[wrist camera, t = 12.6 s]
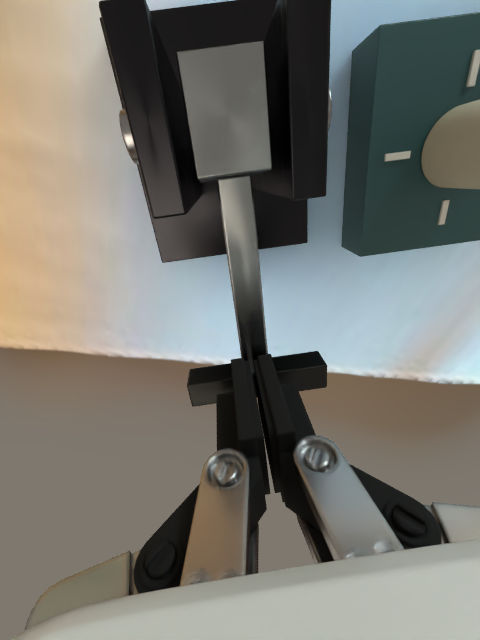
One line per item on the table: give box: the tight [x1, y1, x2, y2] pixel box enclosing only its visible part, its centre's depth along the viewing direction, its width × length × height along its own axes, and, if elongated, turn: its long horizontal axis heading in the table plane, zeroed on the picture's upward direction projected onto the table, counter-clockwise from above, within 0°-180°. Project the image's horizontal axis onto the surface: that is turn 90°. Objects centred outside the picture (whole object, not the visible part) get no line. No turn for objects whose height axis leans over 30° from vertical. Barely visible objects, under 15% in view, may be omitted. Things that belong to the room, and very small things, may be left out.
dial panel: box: [342, 12, 480, 257], centre depth 17 cm, size 10×11×3 cm
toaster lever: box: [176, 41, 327, 406], centre depth 10 cm, size 12×6×2 cm, turn 7°
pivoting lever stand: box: [99, 0, 332, 263], centre depth 12 cm, size 12×10×12 cm
